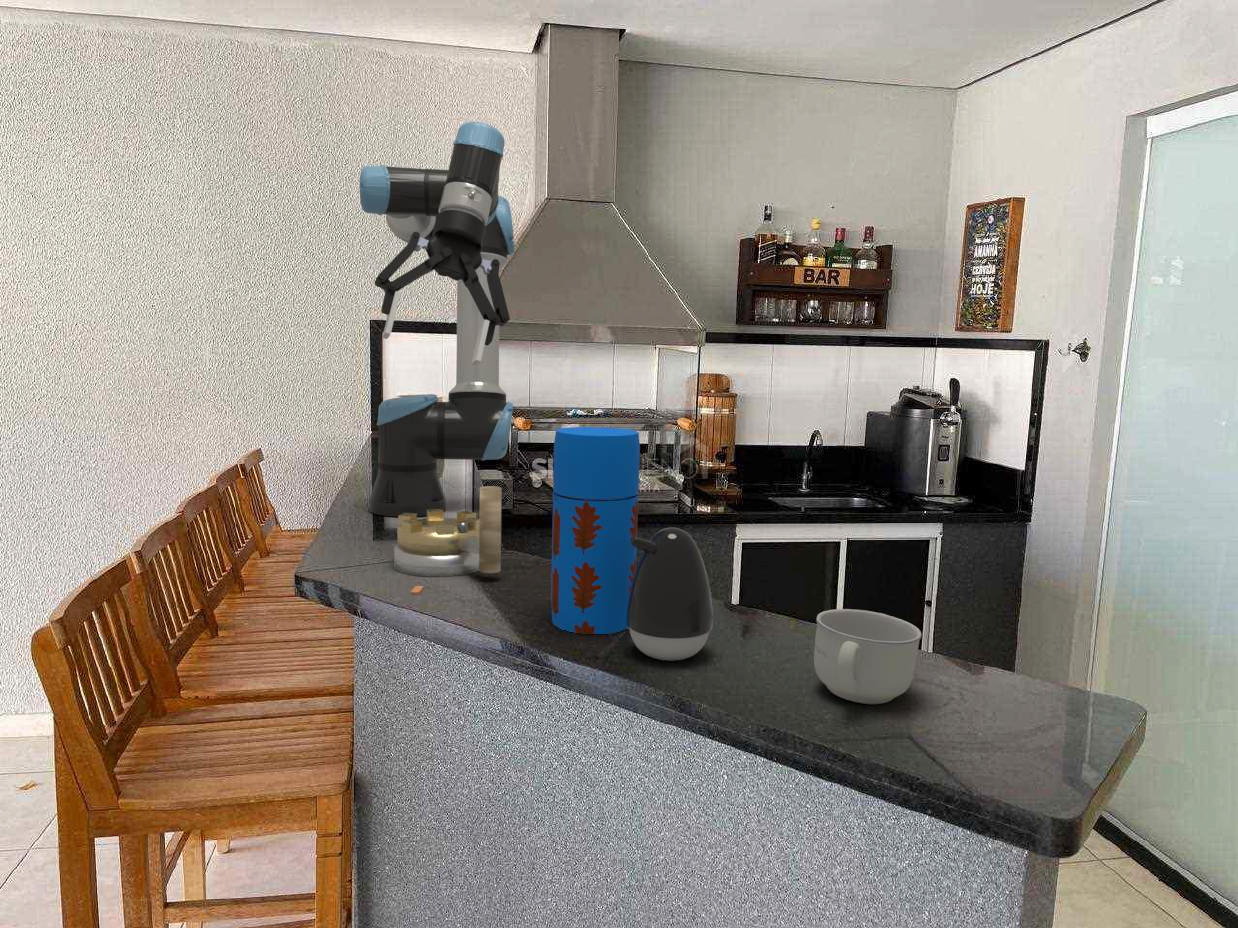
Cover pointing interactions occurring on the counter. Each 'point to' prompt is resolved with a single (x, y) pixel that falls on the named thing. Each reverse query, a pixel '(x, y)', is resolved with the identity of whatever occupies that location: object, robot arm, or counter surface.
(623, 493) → the thermos
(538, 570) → the counter surface
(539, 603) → the counter surface
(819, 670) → the teacup
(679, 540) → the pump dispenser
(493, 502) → the studded brass turntable
